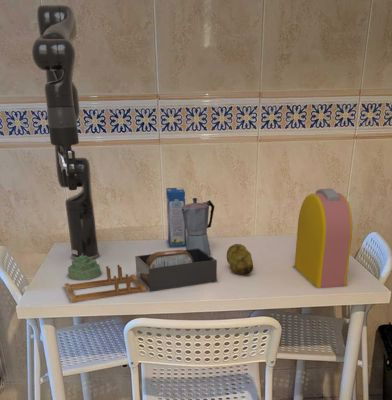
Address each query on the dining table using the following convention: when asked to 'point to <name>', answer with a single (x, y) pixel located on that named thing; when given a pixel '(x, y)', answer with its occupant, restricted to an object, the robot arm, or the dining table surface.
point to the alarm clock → (324, 238)
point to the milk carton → (176, 217)
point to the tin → (169, 258)
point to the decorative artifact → (84, 268)
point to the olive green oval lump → (239, 259)
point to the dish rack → (108, 281)
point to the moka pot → (197, 224)
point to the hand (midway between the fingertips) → (70, 187)
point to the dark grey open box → (177, 272)
